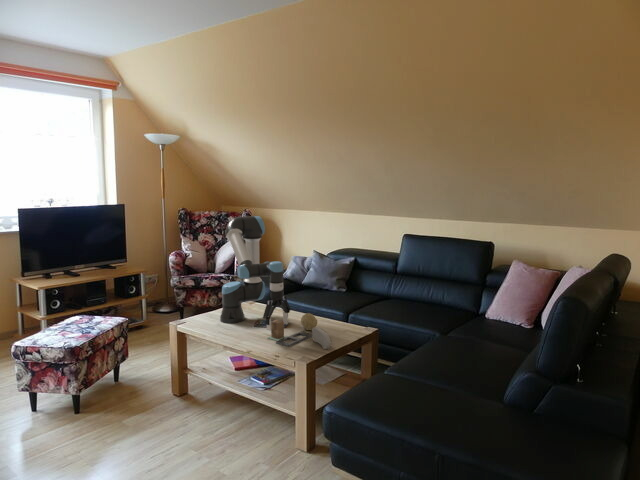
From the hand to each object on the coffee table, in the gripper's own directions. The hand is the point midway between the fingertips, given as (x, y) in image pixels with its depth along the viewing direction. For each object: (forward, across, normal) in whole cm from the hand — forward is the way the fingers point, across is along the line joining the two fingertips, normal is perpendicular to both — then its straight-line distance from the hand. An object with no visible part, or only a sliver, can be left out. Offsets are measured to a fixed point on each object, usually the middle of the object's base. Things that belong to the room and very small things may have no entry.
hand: (277, 327), depth 269 cm
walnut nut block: (+6, 0, 0) cm, 6 cm away
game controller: (+7, +6, -26) cm, 27 cm away
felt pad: (+6, 0, 0) cm, 6 cm away
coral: (+7, +22, -5) cm, 24 cm away
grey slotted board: (+6, +4, -10) cm, 12 cm away
